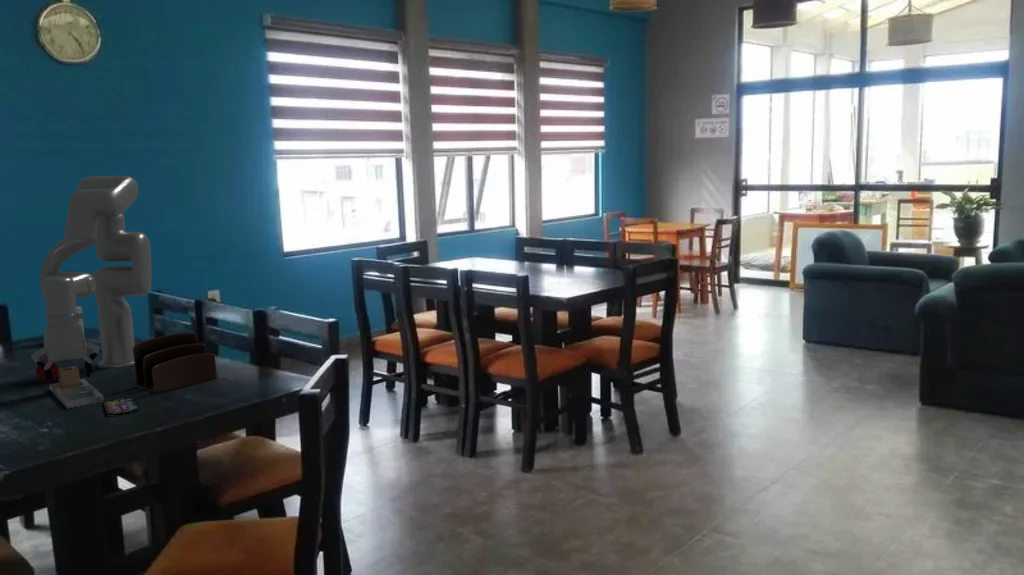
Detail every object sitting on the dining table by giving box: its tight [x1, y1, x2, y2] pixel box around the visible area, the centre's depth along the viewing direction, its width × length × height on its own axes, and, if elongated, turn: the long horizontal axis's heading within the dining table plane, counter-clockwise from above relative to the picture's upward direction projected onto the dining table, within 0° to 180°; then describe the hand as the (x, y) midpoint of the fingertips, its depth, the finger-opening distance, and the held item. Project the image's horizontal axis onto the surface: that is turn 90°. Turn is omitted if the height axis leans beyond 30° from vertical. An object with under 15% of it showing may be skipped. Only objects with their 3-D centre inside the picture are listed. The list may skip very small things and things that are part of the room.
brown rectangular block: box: [58, 365, 81, 389], centre depth 234 cm, size 4×4×6 cm
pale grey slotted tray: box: [49, 378, 105, 410], centre depth 229 cm, size 9×24×2 cm, turn 38°
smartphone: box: [103, 396, 140, 415], centre depth 218 cm, size 8×1×15 cm
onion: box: [35, 356, 60, 383], centre depth 244 cm, size 6×6×8 cm
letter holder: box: [133, 332, 218, 395], centre depth 240 cm, size 10×20×14 cm, turn 143°
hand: (69, 379), depth 234 cm, fingers open, 9 cm apart
